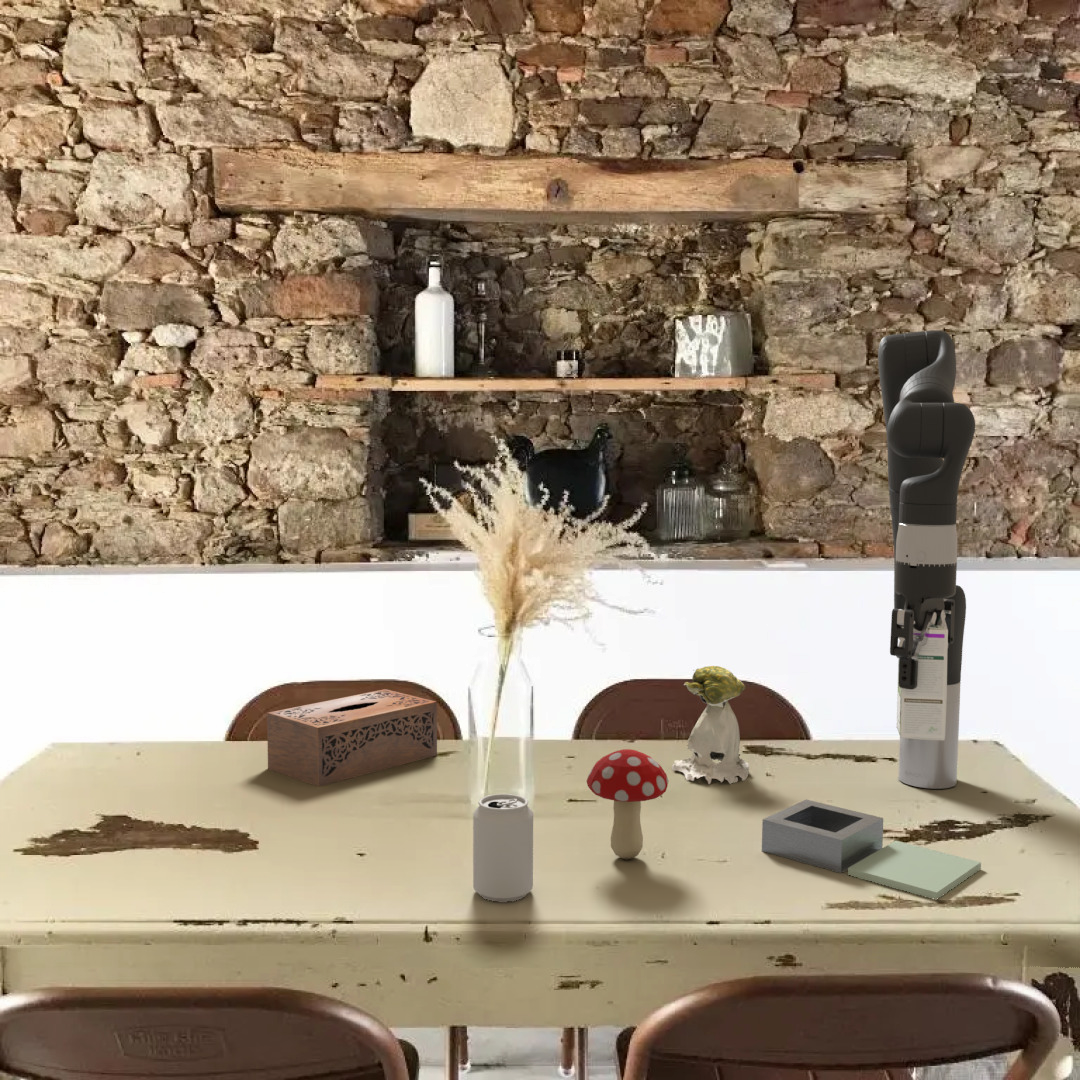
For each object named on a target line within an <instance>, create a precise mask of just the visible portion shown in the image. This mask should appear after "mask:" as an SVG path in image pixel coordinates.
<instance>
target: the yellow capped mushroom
mask: <svg viewBox="0 0 1080 1080" xmlns="http://www.w3.org/2000/svg"><path fill="white" fill-rule="evenodd" d="M692 671H694V672H693V674H692V678H691V680H692V682H688V681H686V682H684V684H683V686H685V687H686V688H687V690H688V691H689V692H690V693H692V694H693V695H695V696H697V697H700V700H701V701H702V702H703V703H704V704H707V705H706V707H705V709H703V711H702V713H701V714H700V716H699V717H698V720H697V722H696V723H695V725H694V727H693V728H692V730H691V733H690V735H689V738H688V739H687V745H686V746H687V748H686V749H687V750H690V751H691V752H692V754H691V756H690V757H685V758H682V759H681V760H679V759H677V760H676V759H675V760H674V761H673V764H672V767H671V771H678V772H682V773H683V775H684V778H686V779H687V780H686V779H685V780H686V781H692V782H694V781H695V778H696V779H700V778H701V777H704V779H705V780H706V781H707V783H708V785H710V784H711V783H712V779H713V780H714V779H716V780H717V781H720V783H723V782H724V780H726V781H727V782H728V784H730V785H732V784H731V783H733V784H736V783H737V782H738V781H739V779H738V777H737V776H739V777H740V778H741V781H746V780H747V777H748V776H749V771H750V763H749V762H746V761H745V759H743V758H740V756H741V754H740V744H741V740H740V726H739V722H738V719H737V716H736V715H735V712H734V711H733V709H732V707H731V705H730V703H729V700H732V699H735V698H736V697H739V696H740V695H741V694H742V692H743V691H744V690H746V685H745V684H744V683H743V682H742V681H741V680H740V679H738V678H737V676H736V675H734V673H733V672H732V671H730V670H729V669H727V668H725V667H723V666H720V665H719V666H717V665H709V666H703V667H701V668H697V669H693V670H692ZM716 760H717V761H720V762H718V763H716V762H715V761H716ZM735 782H736V783H735Z"/></svg>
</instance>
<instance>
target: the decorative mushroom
mask: <svg viewBox="0 0 1080 1080" xmlns="http://www.w3.org/2000/svg"><path fill="white" fill-rule="evenodd" d="M586 784H587V788H589V790H591V792H592V793H593V794H594V795H595V796H597V797H600V798H602V799H605V800H611V801H613V824H612V829H611V834H610V848H611V850H612V851H613V853H614V854H615V856H617V857H619V858H621V859H622V860H631V859H633V858H635V857H638V856H639V854H640V853H641V852H642V850H643V846H644V845H643V844H644V840H643V839H644V837H643V836H644V835H643V831H642V825H641V809H642V804H641V803H642V802H646V801H652V800H654V799H657V798H659V797H660V796H662V795H664V794H665V793H666V791H667V789H668V785H669V778H668V776H667V774H666V772H665V770H664V769H663V767H662V766H661V764H659V762H657V761H656V760H655V759H654V758H652V757H651V756H650V755H647V754H646V753H644V752H642V751H638V750H635V749H631V748H629V749H627V748H626V749H625V748H623V749H620V750H615V751H613V752H611V753H608V754H606V755H605V756H602V757H601V758H600V759H599V760H597V761H596V762H595V764H594V765H593V767H592V768H591V769H590V771H589V774H588V775H587V779H586Z"/></svg>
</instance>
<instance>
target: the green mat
mask: <svg viewBox="0 0 1080 1080" xmlns="http://www.w3.org/2000/svg"><path fill="white" fill-rule="evenodd" d="M980 869H982V862H981V861H978V860H974V859H971V858H966V857H962V856H959V855H955V854H950V853H948V852H947V853H946V852H942V851H938V850H934V849H930V848H927V847H923V846H918V845H915V844H910V843H908V842H907V843H906V842H903V841H899V840H895V841H893V842H891V843H889V844H887V845H885V846H883V847H882V849H880V850H878V851H877V852H875V853H873V854H871V855H870V856H868V857H866V858H864V859H863V860H861V861H859V862H857V863H856V864H854V865H852V866H850V867H849V868H848V869H847V876H849V875H851V876H850V877H852V876H854V877H853V878H856V877H858V878H857V879H859V878H861V879H860V880H863V879H865V880H864V881H866V880H869V881H868V882H870V881H872V882H871V883H874V882H875V883H874V884H877V883H879V884H878V885H881V884H882V886H884V885H886V886H885V887H888V886H890V887H889V888H891V887H892V888H891V889H895V888H896V890H898V889H900V890H899V891H902V890H904V891H903V892H905V891H907V892H906V893H909V892H910V894H913V893H914V894H913V895H916V894H918V895H917V896H920V895H922V896H921V897H923V896H926V897H925V898H927V897H930V898H934V899H937V898H939V897H940V898H942V897H943V896H944V895H943V894H945V893H946V892H948V891H949V890H950V891H952V890H953V889H955V888H956V887H958V886H959V885H960V883H961V882H962V883H963V882H965V881H967V878H968V877H969V878H971V877H972V876H973V875H975V874H976V873H978V872H979V871H981V870H980ZM977 871H978V872H977ZM974 873H975V874H974ZM970 876H971V877H970ZM969 878H968V879H969ZM964 880H965V881H964ZM962 883H961V884H962ZM958 884H959V885H958ZM957 885H958V886H957ZM954 887H955V888H954ZM951 889H952V890H951ZM950 891H949V892H950ZM949 892H948V893H949ZM946 894H947V893H946ZM946 894H945V895H946ZM942 895H943V896H942ZM941 896H942V897H941ZM930 898H929V899H930ZM940 898H939V899H940ZM934 899H933V900H934Z"/></svg>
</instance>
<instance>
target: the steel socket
mask: <svg viewBox="0 0 1080 1080" xmlns="http://www.w3.org/2000/svg"><path fill="white" fill-rule="evenodd" d="M761 827H762V828H761V831H762V832H761V852H764V853H768V854H771V855H774V856H775V855H776V856H779V857H782V858H785V859H789V860H792V861H796V862H800V863H803V864H807V865H811V866H814V867H817V866H818V867H817V868H820V867H822V869H824V868H827V869H829V870H828V871H831V870H833V871H832V872H835V871H836V872H835V873H838V872H840V873H839V874H843V873H844V872H845V870H846V871H848V868H849V867H850V866H852V865H854V864H856V863H857V862H859V861H861V860H863V859H864V858H866V857H868V856H870V855H871V854H873V853H875V852H877V851H878V850H880V849H882V848H883V843H884V817H880V816H876V815H872V814H869V813H864V812H860V811H856V810H851V809H848V808H843V807H839V806H835V805H831V804H826V803H822V802H818V801H814V800H810V799H804V800H802V801H800V802H797V803H795V804H793V805H791V806H789V807H787V808H784V809H782V810H780V811H778V812H775V813H773V814H771V815H769V816H767V817H764V818H762V824H761ZM827 869H826V870H827ZM843 871H844V872H843Z"/></svg>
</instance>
